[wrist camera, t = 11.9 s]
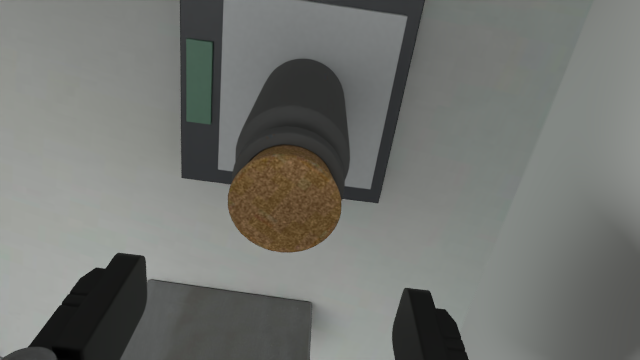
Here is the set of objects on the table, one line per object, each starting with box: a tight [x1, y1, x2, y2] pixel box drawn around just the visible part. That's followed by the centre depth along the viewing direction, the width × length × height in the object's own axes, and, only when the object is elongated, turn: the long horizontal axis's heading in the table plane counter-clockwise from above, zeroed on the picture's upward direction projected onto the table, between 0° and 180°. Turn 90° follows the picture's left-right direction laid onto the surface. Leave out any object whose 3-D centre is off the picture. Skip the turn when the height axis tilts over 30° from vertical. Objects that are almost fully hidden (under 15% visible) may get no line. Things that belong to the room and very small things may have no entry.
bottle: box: [228, 59, 350, 252], centre depth 25 cm, size 6×6×15 cm
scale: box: [180, 0, 425, 203], centre depth 33 cm, size 16×16×3 cm
